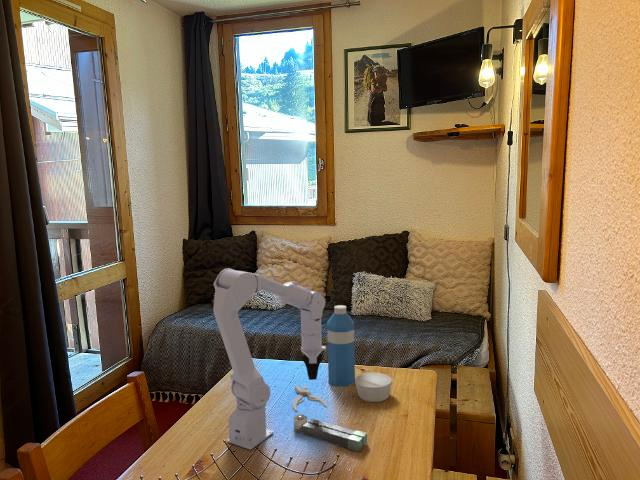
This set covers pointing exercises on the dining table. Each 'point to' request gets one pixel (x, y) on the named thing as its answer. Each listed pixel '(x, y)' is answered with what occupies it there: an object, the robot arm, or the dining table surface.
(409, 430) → the dining table surface
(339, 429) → the arm
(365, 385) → the ramekin
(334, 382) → the water bottle
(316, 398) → the pliers
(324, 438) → the tongs frame
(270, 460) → the dining table surface
